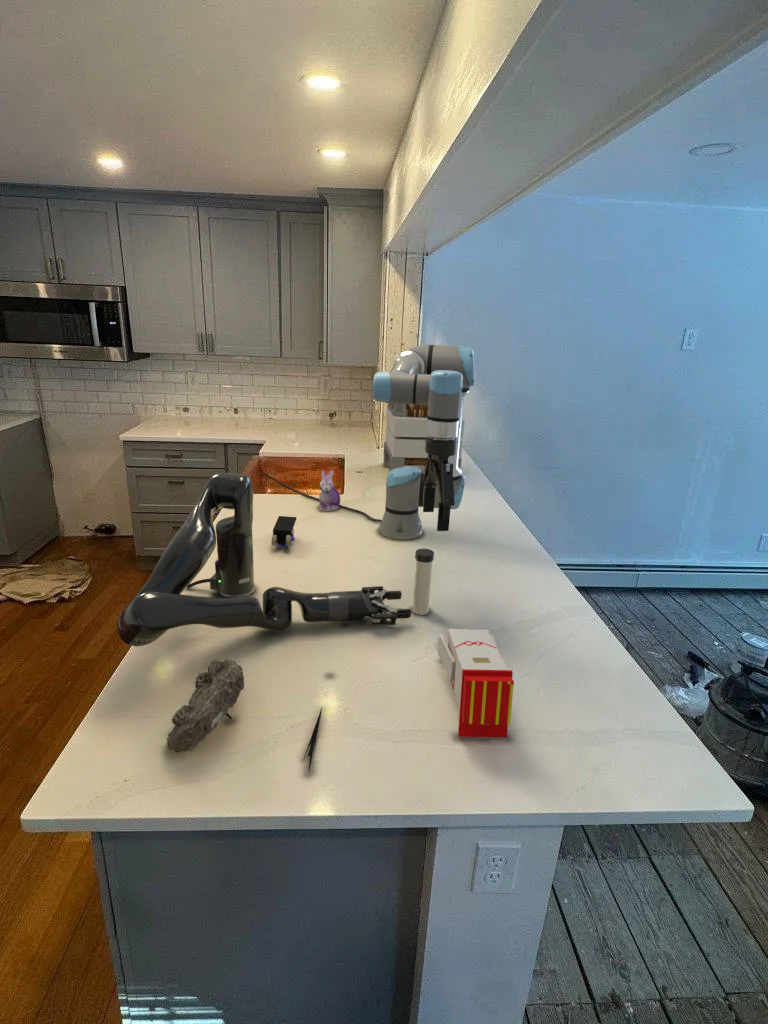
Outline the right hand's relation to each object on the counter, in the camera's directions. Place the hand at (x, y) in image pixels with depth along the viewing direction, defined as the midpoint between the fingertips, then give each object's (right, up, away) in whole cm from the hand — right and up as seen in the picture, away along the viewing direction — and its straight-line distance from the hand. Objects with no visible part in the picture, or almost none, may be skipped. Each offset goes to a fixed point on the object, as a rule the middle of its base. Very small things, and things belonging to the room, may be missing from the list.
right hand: (435, 520), depth 142 cm
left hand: (-7, -21, +3) cm, 23 cm away
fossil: (-46, -37, -34) cm, 68 cm away
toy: (+5, -35, -24) cm, 43 cm away
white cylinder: (-3, -24, +7) cm, 25 cm away
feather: (-25, -38, -34) cm, 56 cm away
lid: (-2, -8, +2) cm, 9 cm away
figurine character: (-46, -8, +45) cm, 64 cm away
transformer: (+4, +21, +133) cm, 134 cm away
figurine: (-34, +4, +80) cm, 87 cm away
